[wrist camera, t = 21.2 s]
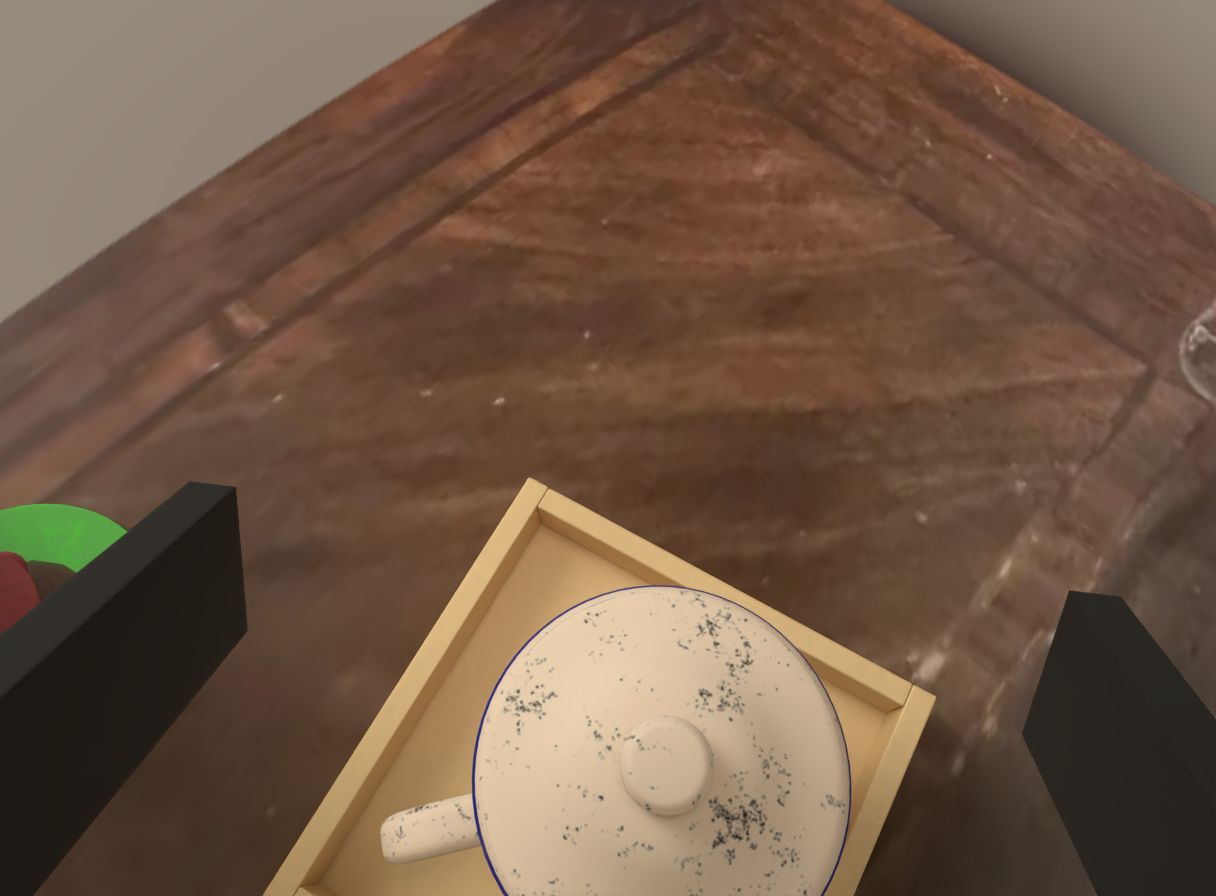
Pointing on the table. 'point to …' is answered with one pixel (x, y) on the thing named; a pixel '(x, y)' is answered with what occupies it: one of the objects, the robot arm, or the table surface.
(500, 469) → the table surface
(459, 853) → the wooden tray
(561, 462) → the table surface
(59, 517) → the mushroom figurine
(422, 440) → the table surface
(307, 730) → the table surface
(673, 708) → the teacup with lid
